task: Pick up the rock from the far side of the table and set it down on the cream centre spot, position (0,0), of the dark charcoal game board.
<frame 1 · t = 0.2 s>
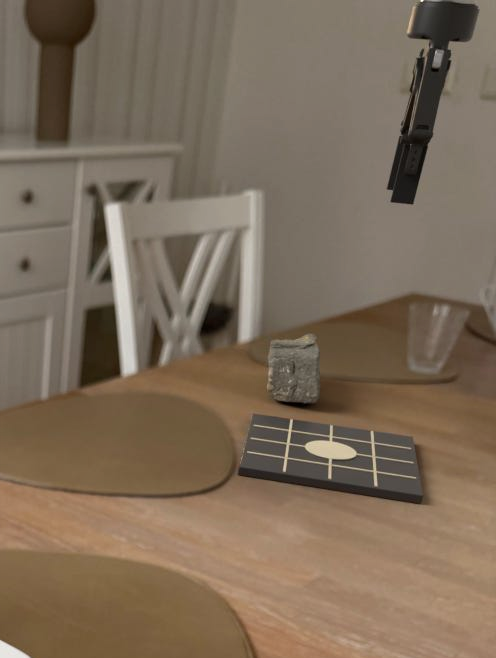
hand: (399, 196, 127), 26 cm above the table, tool pointing down, fingers open, 13 cm apart
board: (328, 458, 117), on the table
rock: (287, 393, 139), on the table
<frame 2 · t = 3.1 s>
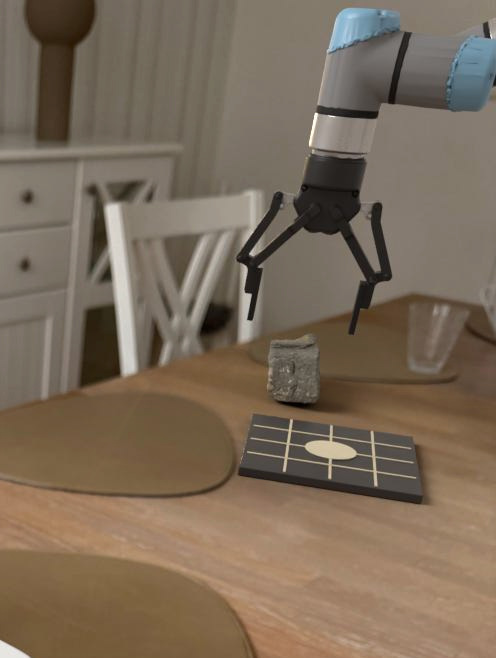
hand: (300, 325, 134), 9 cm above the table, tool pointing down, fingers open, 13 cm apart
nothing on the table moved.
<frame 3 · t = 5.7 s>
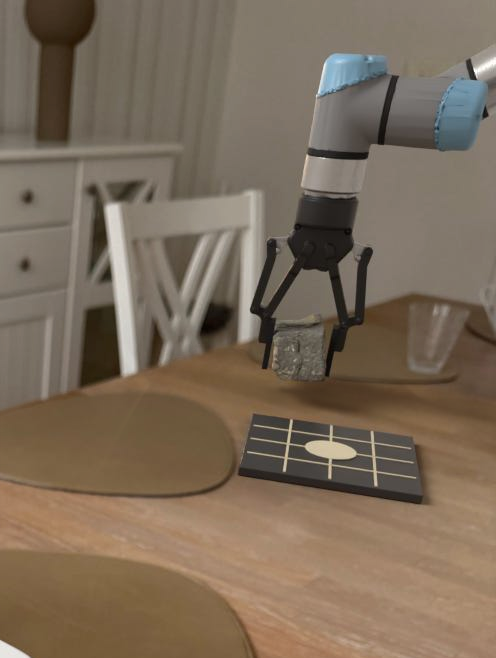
hand: (295, 370, 137), 3 cm above the table, tool pointing down, fingers closed on rock, 8 cm apart
rock: (293, 373, 138), point 3 cm above the table, touching gripper
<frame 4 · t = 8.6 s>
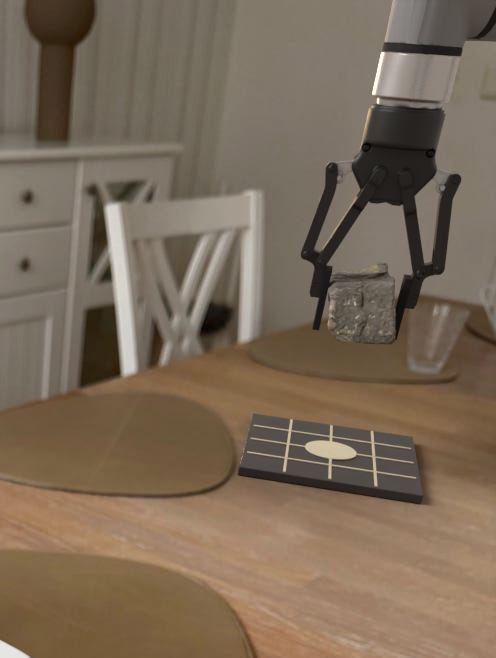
hand: (354, 331, 111), 15 cm above the table, tool pointing down, fingers closed on rock, 8 cm apart
rock: (351, 335, 111), point 14 cm above the table, touching gripper
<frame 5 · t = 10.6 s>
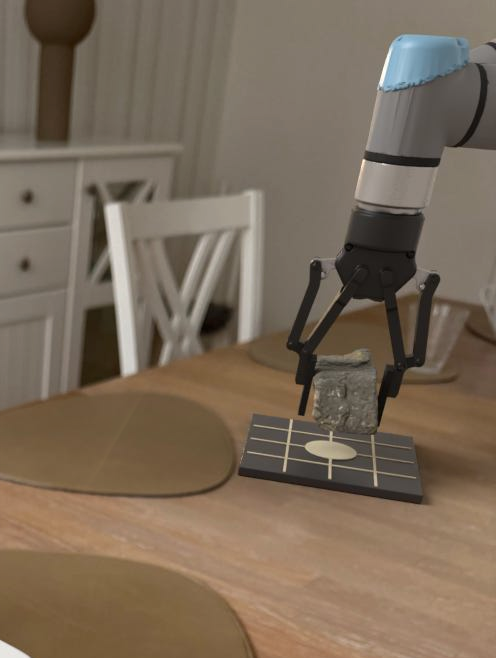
hand: (338, 417, 115), 5 cm above the table, tool pointing down, fingers closed on rock, 8 cm apart
rock: (335, 420, 115), point 5 cm above the table, touching gripper
when the fingers open (1 cm above the table, at t = 11.8 s): rock stays where it is, resting on board.
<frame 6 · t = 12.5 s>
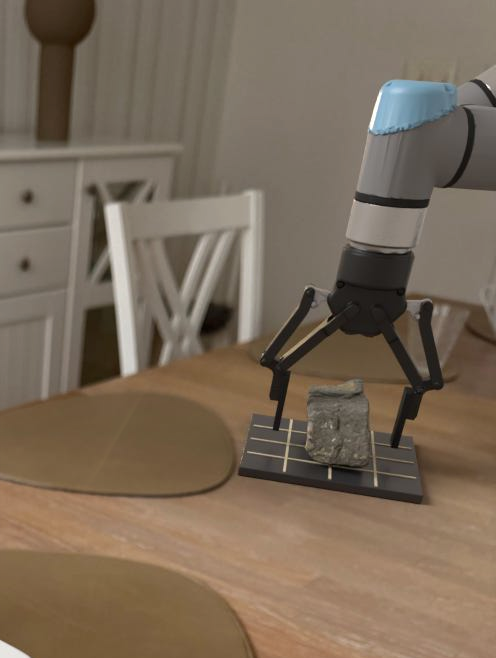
hand: (334, 436, 116), 3 cm above the table, tool pointing down, fingers open, 13 cm apart
rock: (328, 450, 117), point 1 cm above the table, touching board
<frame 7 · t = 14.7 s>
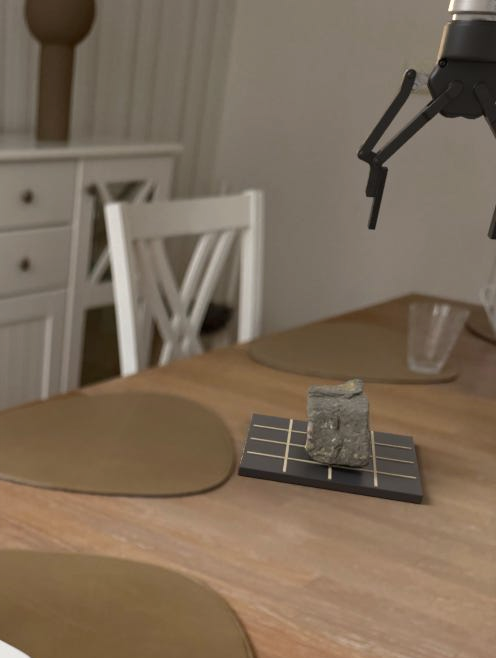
hand: (431, 233, 115), 24 cm above the table, tool pointing down, fingers open, 13 cm apart
nothing on the table moved.
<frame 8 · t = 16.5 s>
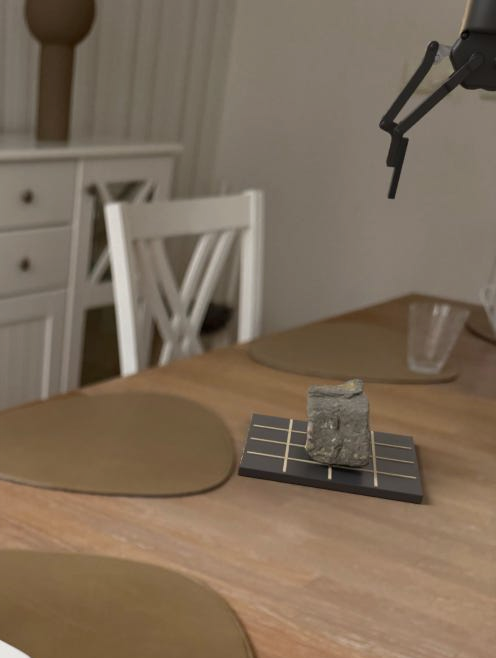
hand: (449, 203, 118), 27 cm above the table, tool pointing down, fingers open, 13 cm apart
nothing on the table moved.
at the end: rock inside the target area on the board (0.2 cm from its centre), point 1.0 cm above the board's base; rock touching board; the gripper is holding nothing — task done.
